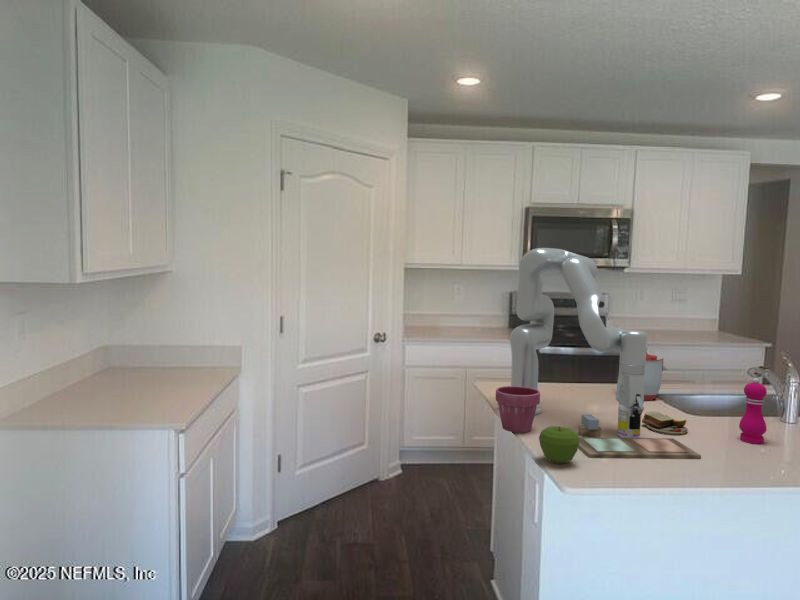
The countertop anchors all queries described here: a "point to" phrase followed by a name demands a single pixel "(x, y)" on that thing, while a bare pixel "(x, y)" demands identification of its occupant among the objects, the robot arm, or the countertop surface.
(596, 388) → the countertop surface
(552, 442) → the apple
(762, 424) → the pepper mill
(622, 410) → the supplement bottle
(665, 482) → the countertop surface
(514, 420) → the plant pot
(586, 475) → the countertop surface
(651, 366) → the citrus juicer
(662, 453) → the tile board
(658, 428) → the toy sandwich meal
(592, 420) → the brick grey
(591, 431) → the brick walnut
